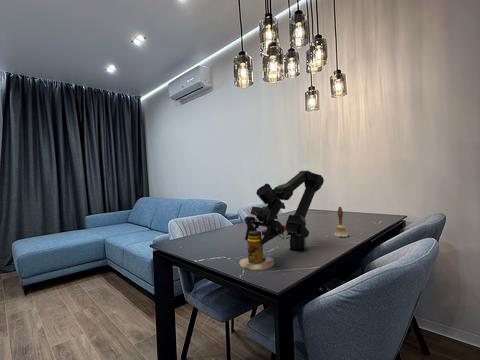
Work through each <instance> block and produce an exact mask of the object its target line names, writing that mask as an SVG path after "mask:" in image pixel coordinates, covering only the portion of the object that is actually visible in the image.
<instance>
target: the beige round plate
mask: <svg viewBox="0 0 480 360" xmlns="http://www.w3.org/2000/svg"><path fill="white" fill-rule="evenodd" d="M263 257H266V260H265V264H246V263H247V260H248V256H246V257H243V258H241V259H240V260H239V262H238V263H239V266H240V267H241V268H242V269H244V270H249V271H265V270H269V269H271V268H273V267H274V266H275V260H274V258H272V257H269V256H268V255H267V256H266V255H263Z"/></svg>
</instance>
